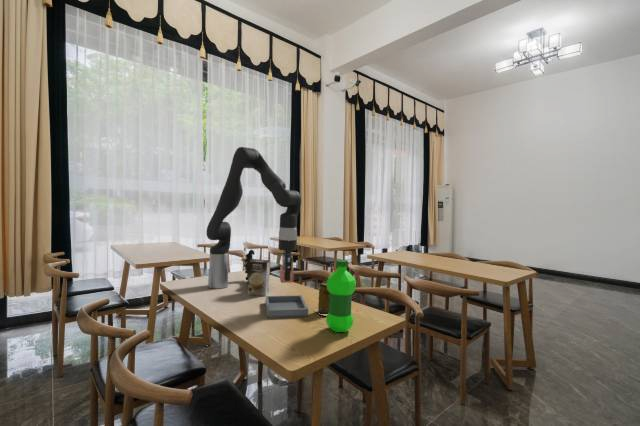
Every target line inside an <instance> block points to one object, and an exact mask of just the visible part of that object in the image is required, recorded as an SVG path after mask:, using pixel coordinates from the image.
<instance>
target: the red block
mask: <svg viewBox="0 0 640 426" xmlns="http://www.w3.org/2000/svg"><path fill="white" fill-rule="evenodd" d="M287 268H289V266H287ZM291 269H292V270H291V272H290V281H285V271H284V270H285V266H283V265H280V269H279V280H280V283H281V284H283V283H284V284H285V283H286V284H287V283H294V269H295V267H294V266H293V265H292V268H291Z"/></svg>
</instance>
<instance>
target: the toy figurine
mask: <svg viewBox="0 0 640 426" xmlns="http://www.w3.org/2000/svg"><path fill="white" fill-rule="evenodd" d="M254 255H255V250H253V249H250V250H249V251H248V253H246V254H245V256H244V257H245V259H244V262H245V263H246V264H244V268H246V269H245V271H244V274H246V277H245V280H246V281H247V282H246V283H247V284H248V273H249V261H250V260H252V259H254V258H253V256H254ZM269 278H270V272H269Z"/></svg>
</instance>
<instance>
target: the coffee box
mask: <svg viewBox="0 0 640 426" xmlns="http://www.w3.org/2000/svg"><path fill="white" fill-rule="evenodd" d="M270 267H271V261H270V260H269V259H268V260H267V259H257V258H253V259H252V260H250V261H249V273H248V280H247V281H248V283H247V296H250V295H251V296H263V297H266V296H268V293H269V292H270V290H269V289H270V277H269V273H270V269H271V268H270Z"/></svg>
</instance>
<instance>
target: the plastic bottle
mask: <svg viewBox="0 0 640 426" xmlns="http://www.w3.org/2000/svg"><path fill="white" fill-rule="evenodd" d="M335 262H336V263H335V266H337V267H336V268H337V269H336V270H335V271H334V272H332V273H331V274H330V275H329V277H328V278H327V280H326V282H327V290H328V291H329V292H330V305H329V313H328V315H327V317H325V319H326V320H325V322H326V325H327V327H328V328H330V329H331V331H332V330H333V331H332V332H334V331H335V332H334V333H336V332H345V333H347V332H348V331H349V330H350V329H351V328H352V327H353V325H354V315H353V313H352V301H353V299H352V297H353V295H352V294H354V293H355V290H356V285H357V281H356V279H355V277H354V276H353V275H352V274H351V273H350V272H349V271H348V270H347V267H349V260H347V259H336V261H335Z"/></svg>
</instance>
